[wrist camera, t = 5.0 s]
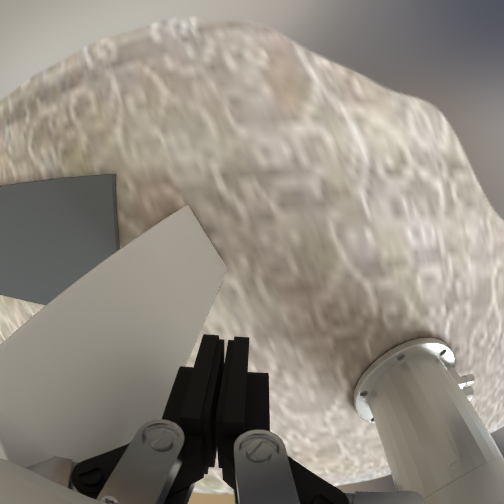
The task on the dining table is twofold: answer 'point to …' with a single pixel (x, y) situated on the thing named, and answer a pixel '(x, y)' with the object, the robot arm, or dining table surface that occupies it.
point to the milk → (108, 347)
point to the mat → (55, 234)
